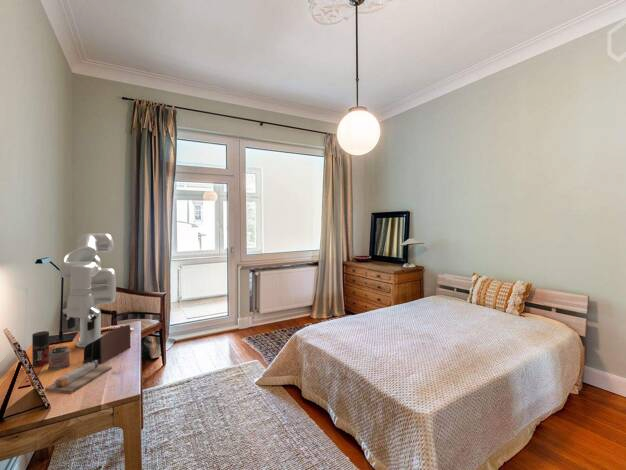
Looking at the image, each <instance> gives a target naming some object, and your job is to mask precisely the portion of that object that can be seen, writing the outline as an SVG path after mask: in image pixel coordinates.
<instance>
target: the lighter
mask: <svg viewBox="0 0 626 470" xmlns="http://www.w3.org/2000/svg"><path fill="white" fill-rule="evenodd" d="M70 353H71V349H69V345H61V346H60V345H58V346H57V347H55V346H54V347H51V351H49V353H48V355H49V363H48V366H47V367H48V368H47V369H48V370H49V371H50V370H59V369H65V368H67V369H68V367H71V363H70V361H71V360H70Z"/></svg>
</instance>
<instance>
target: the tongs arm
mask: <svg viewBox="0 0 626 470" xmlns="http://www.w3.org/2000/svg"><path fill="white" fill-rule="evenodd" d="M94 369H95V362H92V363H90V364H88V365H86V366H85V367H83V368H81V369H79V370H77V371H75V372H73V373H71V374H70V375H68V376H66V377H64V378H62V379H60V387H64V386H66V385H67V384H69V383H71V382H72V381H74V380H76V379H78V378H80V377H81V376H83V375H85V374H87V373H88V372H90V371H92V370H94Z"/></svg>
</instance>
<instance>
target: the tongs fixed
mask: <svg viewBox="0 0 626 470" xmlns="http://www.w3.org/2000/svg"><path fill="white" fill-rule="evenodd" d="M92 362H95V368H97V365H98V364H97V360H93V361H92ZM90 363H91V362H89V363H87V362H86V363H85V364H83V365H81V366H79V367H78V368H75V369H74V370H72V371H70V372H68V373H66V374H65V375H63V376H60V377H59V378H56V380H55V383H56V387H60V379H62V378H64V377H66V376H68V375H70V374H71V373H73V372H75V371H77V370H79V369H81V368H83V367H85V366H86V365H88V364H90Z"/></svg>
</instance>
